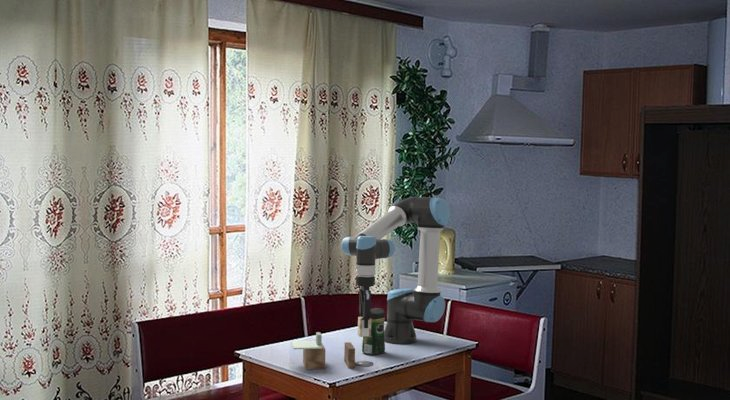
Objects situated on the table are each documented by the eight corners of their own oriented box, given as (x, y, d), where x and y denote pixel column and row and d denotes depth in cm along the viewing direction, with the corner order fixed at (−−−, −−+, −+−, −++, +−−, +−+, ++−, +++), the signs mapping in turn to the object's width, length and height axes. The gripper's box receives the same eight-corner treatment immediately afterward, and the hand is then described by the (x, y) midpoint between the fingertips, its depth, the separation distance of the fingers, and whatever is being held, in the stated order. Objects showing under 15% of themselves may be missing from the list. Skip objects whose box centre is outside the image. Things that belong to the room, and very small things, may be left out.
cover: (319, 342, 313) (319, 330, 313) (322, 348, 302) (322, 336, 301) (291, 342, 311) (291, 331, 311) (293, 349, 300) (293, 337, 299)
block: (368, 334, 312) (369, 316, 312) (370, 336, 308) (371, 318, 308) (357, 334, 312) (358, 316, 311) (359, 336, 307) (360, 319, 307)
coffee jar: (373, 349, 336) (374, 306, 335) (387, 352, 330) (388, 308, 329) (358, 353, 328) (359, 308, 328) (372, 356, 323) (373, 311, 322)
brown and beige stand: (350, 360, 315) (350, 342, 315) (354, 367, 304) (355, 348, 304) (302, 362, 312) (303, 343, 312) (305, 369, 301) (305, 349, 301)
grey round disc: (371, 361, 314) (371, 360, 314) (374, 366, 308) (374, 365, 308) (353, 362, 313) (353, 361, 313) (356, 366, 306) (356, 365, 306)
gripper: (352, 272, 317) (351, 330, 318) (359, 278, 300) (358, 339, 301) (371, 272, 318) (369, 329, 319) (379, 278, 301) (377, 339, 302)
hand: (364, 334), depth 310 cm, fingers closed on block, 4 cm apart
